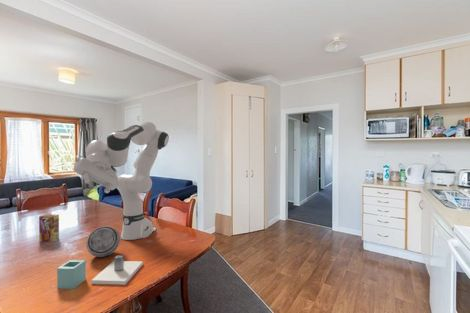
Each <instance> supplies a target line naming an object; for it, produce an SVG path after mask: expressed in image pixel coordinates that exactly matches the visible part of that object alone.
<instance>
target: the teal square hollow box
mask: <svg viewBox="0 0 470 313" xmlns="http://www.w3.org/2000/svg"><path fill="white" fill-rule="evenodd" d="M86 262H87V261H86V260H83V259H81V260H80V259H76V260H75V259H69V260H68V261H66V262H64V263H63V264H62V265H60V266H59V267H57V268H56V272H57V273H56V274H57V276H56V277H57V280H56V281H57V282H56V285H57V289H60V290H61V289H66V290H67V289H68V290H74V289H75V288H77V287H78V286H79V285H81V284H82V283H83V282H84V281H86V274H87V273H86V267H87V264H86Z"/></svg>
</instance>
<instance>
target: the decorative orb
mask: <svg viewBox="0 0 470 313" xmlns="http://www.w3.org/2000/svg"><path fill="white" fill-rule="evenodd" d="M120 242H121V234H120V232H119V231H118V230H117V229H116V228H114V227H112V226H110V225H109V226H108V225H104V226H99V227H97V228H95V229H94V230H92V231H91V232H90V234H89V235H88V237H87V240H86V248H87V249H86V250H88V252H89V253H90V255H92V256H94V257H96V258H97V257H98V258H104V257H107V256H110V255H112V254H114V252H115V251H116V250H117V249H118V247H119V246H120Z"/></svg>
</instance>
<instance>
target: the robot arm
mask: <svg viewBox="0 0 470 313" xmlns="http://www.w3.org/2000/svg"><path fill="white" fill-rule="evenodd" d="M169 137H170V136H169V134H168V133H167V132H165V131H161V130H159V129H157V127H156V125H155V124H154V123H153V122H151V121H145V122H143V123H140V124H134V125H130V126H128V127H126V128H123V129H122V130H119V131H113V132H111V133H110V134H108V135H107V137H106V143H105V142H104V141H103V140H100V139H94V140H92V141H90V142H89V143H88V144H87V147H86V151H85V157H83V156H82V155H76V156H75V163H74V165H73V172H74V173H76V174H78V175H80V176H81V178H82V179H83V181H84V184H86V185H89V184H91V183H92V182H93V183H96V184H98V185H101V186H102V187H104V189H103V190H104V193H106V194H109V193H110V192H111V191H114V190H115V189H117V190H118V192H119V194H120V195H121V199H122V202H123V215H122V221H123V222H122V227H121V229H122V230H121V232H120V240H121V239H122V240H126V241H131V240H132V241H134V240H137V239H139V240H140V239H145V238H147V237H149V236H150V235H151V234H153V233H154V232H155V231H156V230H157V229H156V227H155V226H154V227H153V222H152V221H151V220H149V219H148V218H146V216H147V215H148V212H147V211H144V208H143V207H144V205H143V204H144V201H143V199H142V198H141V197H140V196H139V195H138V194H139V193H140V194H141V193H147V192H150V190H151V189H152V186H153V182H152V181H153V180H152V178H151V176H150V175H151V170H152V168H153V166H154V163H155V161H156V158H157V157H158V153H159V150H162V149H163V148H165V147H166V146H168V143H169V141H170V138H169ZM131 142H132V143H134V144H135V145H138V146H143V147H142V149H141V151H140V152H139V153H138V155H137V157H136V158H135V159H134V162H133V167H134V169H135V172H134V173H133V174H129V173H125V174H120V175H117V173H118V170H117V169H116V168H118V167H122V166H125V165H126V163H127V162H128V155H129V149H130V144H131ZM153 231H154V232H153ZM152 232H153V233H152Z"/></svg>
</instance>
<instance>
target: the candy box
mask: <svg viewBox="0 0 470 313" xmlns="http://www.w3.org/2000/svg"><path fill="white" fill-rule="evenodd" d="M38 220H39V221H38V223H39V224H38V226H39V227H38V229H39V233H38V234H39V238H38V239H39V242H40V243H45V242H46V243H47V242H48V243H49V242H50V243H52V242H55V241H58V240H60V214H42V215H39V217H38Z"/></svg>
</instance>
